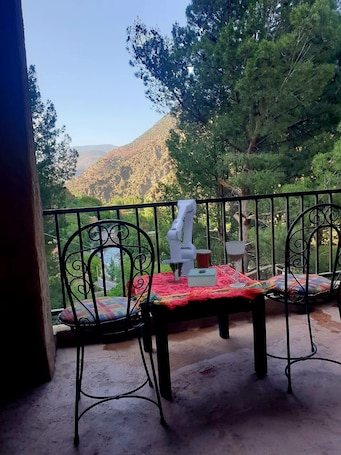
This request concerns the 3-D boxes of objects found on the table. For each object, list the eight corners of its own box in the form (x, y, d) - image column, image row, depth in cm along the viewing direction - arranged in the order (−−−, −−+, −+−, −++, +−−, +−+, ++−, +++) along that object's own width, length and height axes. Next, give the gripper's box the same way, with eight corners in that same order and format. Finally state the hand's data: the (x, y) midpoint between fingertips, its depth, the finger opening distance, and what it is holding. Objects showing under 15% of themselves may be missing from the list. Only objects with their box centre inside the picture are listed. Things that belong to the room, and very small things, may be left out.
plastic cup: (211, 271, 214) (210, 251, 213) (193, 272, 216) (192, 252, 215) (213, 267, 225) (212, 248, 223) (196, 267, 227) (194, 249, 225)
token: (176, 278, 199) (176, 269, 198) (179, 278, 198) (179, 269, 198) (175, 280, 194) (174, 271, 193) (178, 280, 194) (177, 271, 193)
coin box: (191, 279, 199) (190, 269, 199) (216, 278, 197) (216, 268, 196) (188, 286, 186) (187, 275, 185) (215, 286, 183) (214, 274, 182)
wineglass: (230, 282, 188) (228, 240, 185) (249, 283, 183) (246, 240, 181) (225, 287, 180) (223, 243, 177) (244, 288, 176) (242, 243, 173)
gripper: (160, 253, 192) (162, 278, 193) (187, 252, 189) (189, 277, 191) (163, 251, 199) (165, 275, 200) (189, 250, 196) (191, 274, 198)
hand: (177, 276), depth 196 cm, fingers closed on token, 2 cm apart
